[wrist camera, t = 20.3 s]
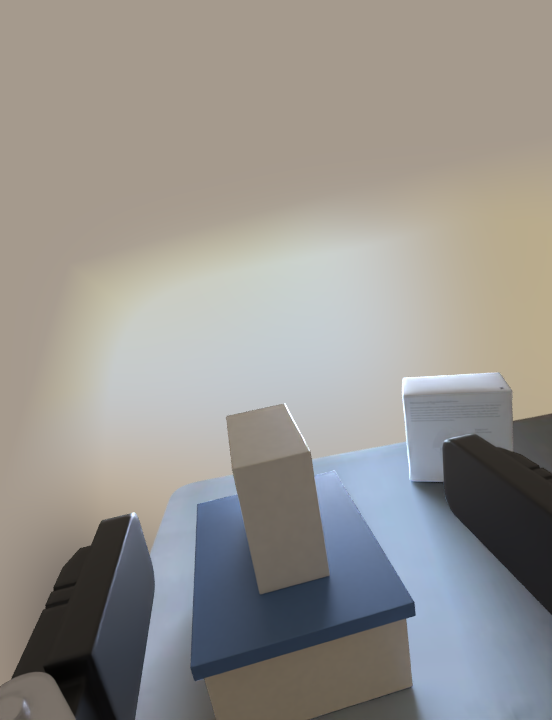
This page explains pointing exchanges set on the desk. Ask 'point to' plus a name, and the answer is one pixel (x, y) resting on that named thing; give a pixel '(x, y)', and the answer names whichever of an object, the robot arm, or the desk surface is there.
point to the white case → (277, 498)
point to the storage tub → (297, 619)
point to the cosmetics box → (453, 417)
